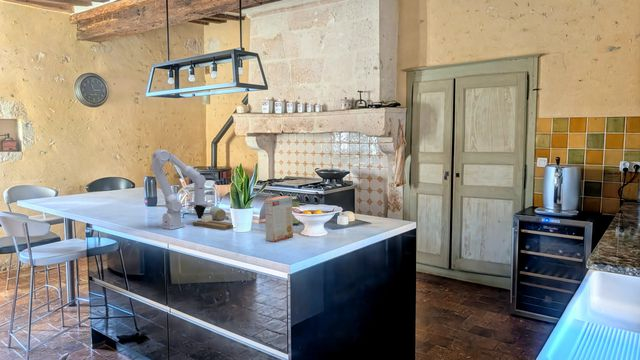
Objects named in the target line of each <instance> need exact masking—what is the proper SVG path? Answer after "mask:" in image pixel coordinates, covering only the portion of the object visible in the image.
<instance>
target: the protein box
mask: <svg viewBox="0 0 640 360" xmlns="http://www.w3.org/2000/svg"><path fill="white" fill-rule="evenodd" d="M274 197H275V196H273V197H272V198H274ZM292 207H299V208H300V196H292ZM299 225H300V220H299V221H298V220H297V219H295V218H294V216H293V227H294V226H295V227H296V226H297V227H298V226H299Z"/></svg>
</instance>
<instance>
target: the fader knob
mask: <svg viewBox="0 0 640 360" xmlns="http://www.w3.org/2000/svg"><path fill="white" fill-rule="evenodd" d="M201 220H202V222H209V221H212V220H213V219H212V215H209V214H206V215H203V216H202V219H201Z"/></svg>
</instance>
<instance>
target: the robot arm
mask: <svg viewBox="0 0 640 360" xmlns="http://www.w3.org/2000/svg"><path fill="white" fill-rule="evenodd" d="M151 158H152V160H151V171H152V172H153V175H154V177H155V179H156V181H157V184H158V185H159V187H160V190H161V191H162V194H163V197H164V201H165V207H166V209H167V210H166V212H165V213H164V214H163V215H162V227H161V229H166V230H176V229H180V228H185V225H182V217H181V216H182V214H181V213H182V211H181V210H182V208H183V205H182V202H181V201H179V200H178V197H177V196H176V194H175V193H174V192H173V189H172V187H171V185H170V183H169V181H168V178H167V176H166V173H165V172H164V169H163V168H164V165H165V164H166V163H167V162H169V163H172V164H173V165H175V166H176V167H177V168H179V169H180V170H182V174H183V175H184V176H185V177H187V178H188V179H190V180H191V181H192V183H193V185H194V188H193V192H194V194H193V195H194V196H193V197H194V201H190V202H189V206H193V209H194V211H195V212H196V216H197V219H199V220H202V216H204V212H205V211H206V209H207V208H210V207H211V203H210V202H206V198H205V197H206V194H205V193H206V192H205V184H206V181H207V179H206V177H205V175H203V174H201V172H200V171H197V170H196V169H195V168H194V166H193V165H186V164H185V163H184V162H183V161H181V160H180V159H179V158H178V157H176V156H175V155H174V154H173V153H171V152H169V151H168V150H167V149H156V150H155V151H154V152H153V154H152V156H151Z"/></svg>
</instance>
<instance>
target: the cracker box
mask: <svg viewBox="0 0 640 360" xmlns="http://www.w3.org/2000/svg"><path fill="white" fill-rule="evenodd" d="M273 197H274V198H273ZM273 197H269V198H264V211H265V212H264V215H265V221H264V222H265V241H268V242H273V243H275V241H276V242H278V241H279V242H280V241H282V240H286V239H290V237H291V238H293V237H294V228H293V227H294V226H293V215H292V197H293V196H291V195H282V196H281V195H279V196H273Z"/></svg>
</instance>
